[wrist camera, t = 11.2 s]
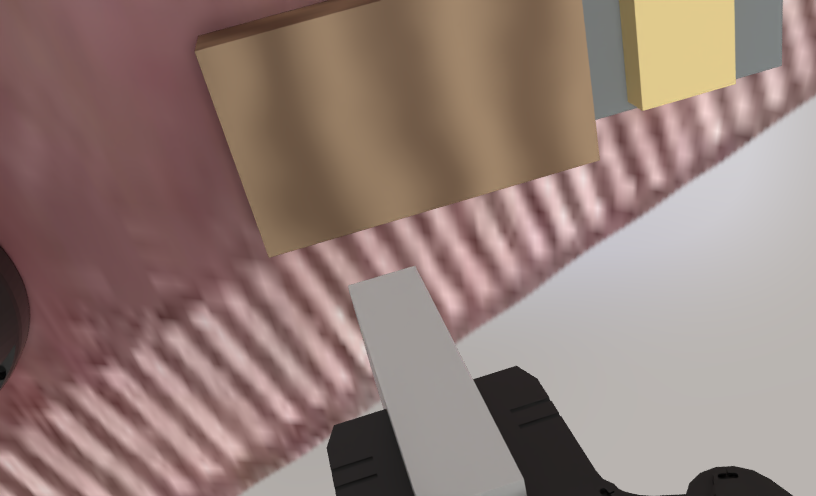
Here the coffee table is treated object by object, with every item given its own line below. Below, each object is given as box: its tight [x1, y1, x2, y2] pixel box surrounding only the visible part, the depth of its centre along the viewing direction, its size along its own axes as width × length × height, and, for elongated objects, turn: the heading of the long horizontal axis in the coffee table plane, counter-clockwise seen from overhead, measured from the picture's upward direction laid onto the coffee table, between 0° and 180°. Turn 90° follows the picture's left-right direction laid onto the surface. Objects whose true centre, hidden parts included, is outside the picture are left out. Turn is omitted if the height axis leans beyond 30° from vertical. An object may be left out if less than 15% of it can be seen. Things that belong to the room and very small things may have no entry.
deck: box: [195, 0, 600, 258], centre depth 43 cm, size 20×12×4 cm, turn 103°
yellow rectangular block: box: [619, 0, 736, 111], centre depth 45 cm, size 9×6×2 cm, turn 13°
